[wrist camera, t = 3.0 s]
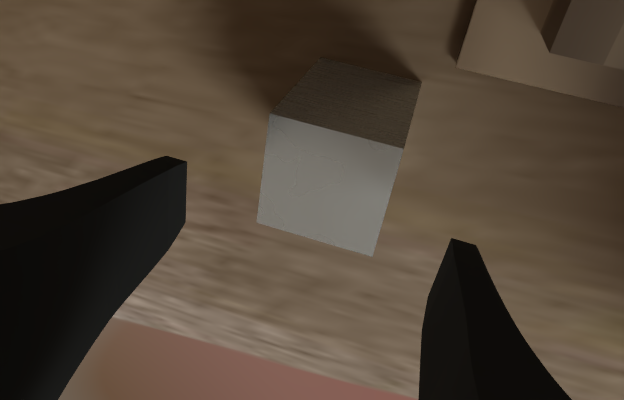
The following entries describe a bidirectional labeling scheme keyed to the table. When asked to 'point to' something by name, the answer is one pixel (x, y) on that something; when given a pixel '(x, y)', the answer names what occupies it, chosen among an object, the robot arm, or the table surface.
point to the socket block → (550, 45)
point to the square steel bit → (336, 154)
